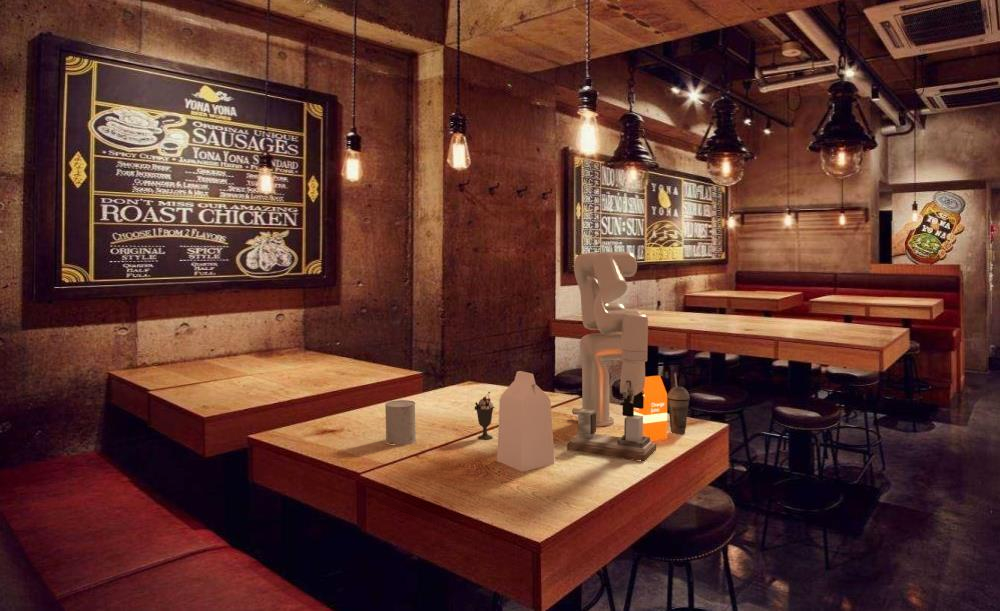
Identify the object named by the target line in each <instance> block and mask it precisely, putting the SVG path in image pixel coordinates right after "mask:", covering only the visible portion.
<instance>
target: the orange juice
mask: <svg viewBox="0 0 1000 611" xmlns="http://www.w3.org/2000/svg"><path fill="white" fill-rule="evenodd" d="M631 393H632V392H631ZM642 396H644V408H643V409H639V408H634V415H639V416H643V436H646V437H650V441H651V440H655V441H658V440H657V439H662V440H665V439H664V438H668V435H667V434H668V399H667V397H668V393H667V390H666V387H665V385H664V382H663V379H662V378H661V375H650V376H645V388H644V395H642ZM651 442H652V441H651Z"/></svg>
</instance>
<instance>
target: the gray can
mask: <svg viewBox="0 0 1000 611" xmlns="http://www.w3.org/2000/svg"><path fill="white" fill-rule="evenodd" d="M384 407H385V438H386V439H385V443H386V442H387V443H389V444H395V445H394V446H396V445H400V446H405V445H404V444H409V445H411V444H410V443H412V444H414V443H416V442H417V439H416V402H415V401H413V400H406V399H405V400H404V399H402V400H401V399H400V400H391V401H388V402H386V403H385V404H384ZM413 442H414V443H413ZM387 443H386V444H387ZM389 444H388V445H389Z"/></svg>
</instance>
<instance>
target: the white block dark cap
mask: <svg viewBox="0 0 1000 611" xmlns="http://www.w3.org/2000/svg"><path fill="white" fill-rule="evenodd" d="M623 426H624V432H623V433H624V434H623V435H624V439H626V440H627V441H634V442H642V441H643V416H639V415H634V416H633V417H629V416H625V418H624V425H623Z"/></svg>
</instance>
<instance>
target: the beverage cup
mask: <svg viewBox="0 0 1000 611" xmlns="http://www.w3.org/2000/svg"><path fill="white" fill-rule="evenodd" d="M674 383H675V384H674V385H675V386H673V387H672V388H670V390H669V391H668V393H667V405H668V412H669V413H668V414H669V427H670V433H671V432H672V433H671V434H673V433H675V434H674V435H685V434H686V428H687V418H688V410H689V404H690V399H691V398H690V394H689V391H688V390H687V388H685V387H683V386H679V385H678V380H677V372H675V373H674ZM684 433H685V434H684Z"/></svg>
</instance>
